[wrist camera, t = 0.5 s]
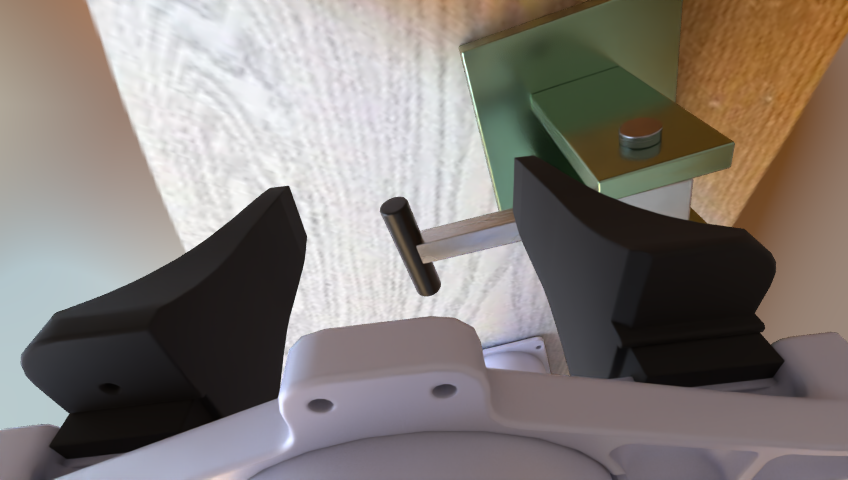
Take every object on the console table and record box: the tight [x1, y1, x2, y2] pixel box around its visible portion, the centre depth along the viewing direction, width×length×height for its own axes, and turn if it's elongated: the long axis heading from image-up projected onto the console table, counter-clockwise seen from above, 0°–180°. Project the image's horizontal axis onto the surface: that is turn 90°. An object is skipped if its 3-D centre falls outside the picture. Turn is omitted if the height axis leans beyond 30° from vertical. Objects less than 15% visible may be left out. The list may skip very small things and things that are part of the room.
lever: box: [380, 178, 693, 296], centre depth 17 cm, size 12×5×2 cm, turn 107°
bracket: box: [459, 0, 735, 224], centre depth 19 cm, size 10×11×10 cm
